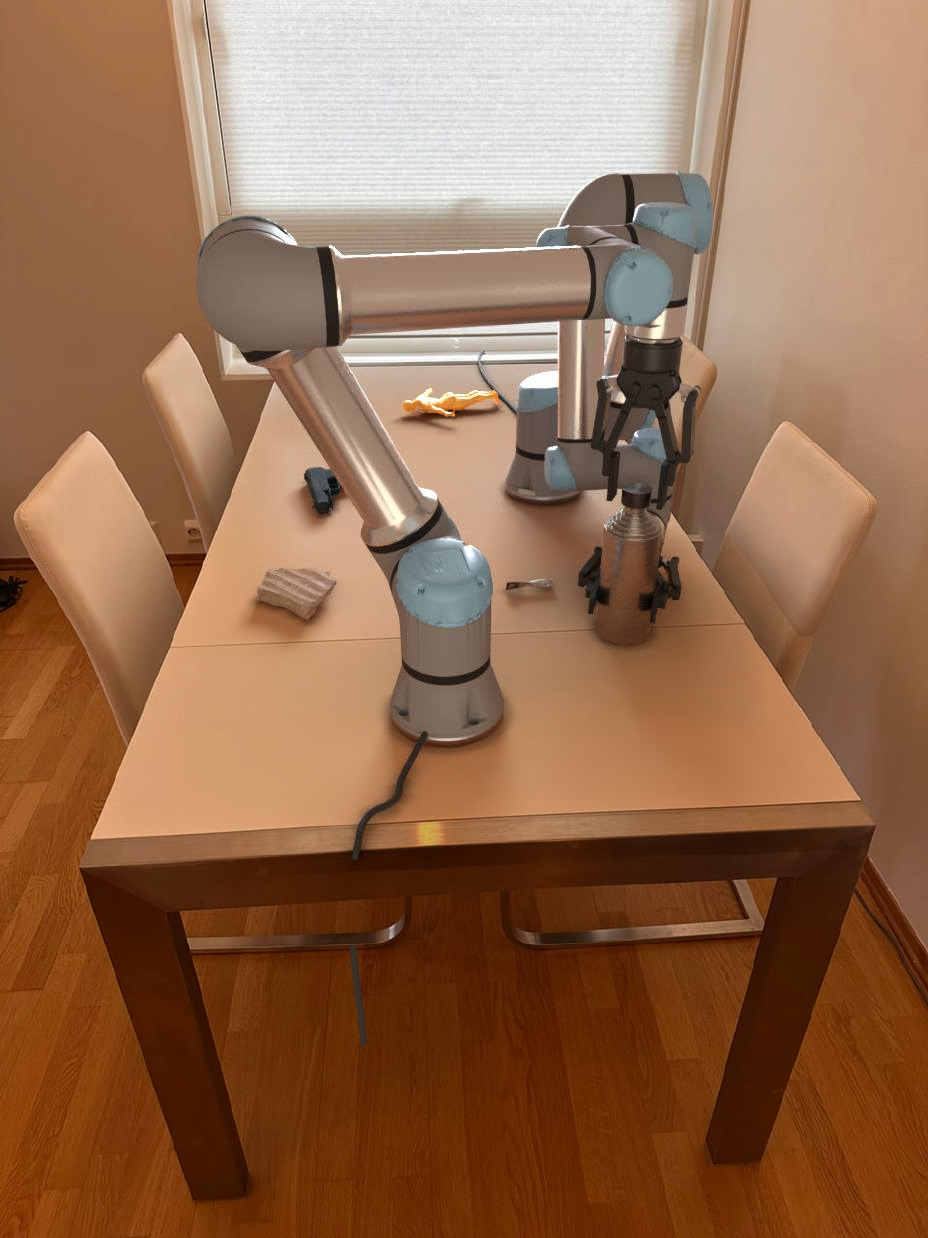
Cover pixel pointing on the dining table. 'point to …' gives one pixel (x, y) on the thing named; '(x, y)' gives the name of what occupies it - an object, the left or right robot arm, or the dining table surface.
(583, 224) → the right robot arm
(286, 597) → the stone
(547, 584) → the putty knife
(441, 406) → the human figure
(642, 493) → the cap
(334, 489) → the handgun
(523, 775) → the dining table surface
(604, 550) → the bottle
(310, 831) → the dining table surface
